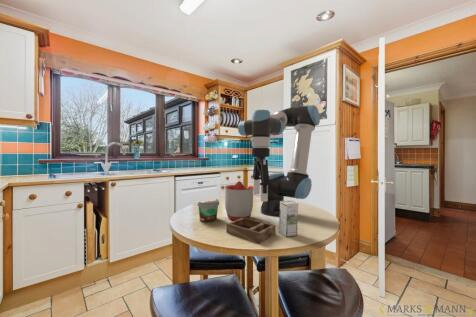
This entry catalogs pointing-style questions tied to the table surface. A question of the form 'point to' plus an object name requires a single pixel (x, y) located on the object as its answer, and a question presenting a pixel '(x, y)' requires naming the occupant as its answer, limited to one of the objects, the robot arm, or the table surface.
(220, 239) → the table surface
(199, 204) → the food container
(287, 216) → the syrup box
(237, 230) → the socket block
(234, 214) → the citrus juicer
